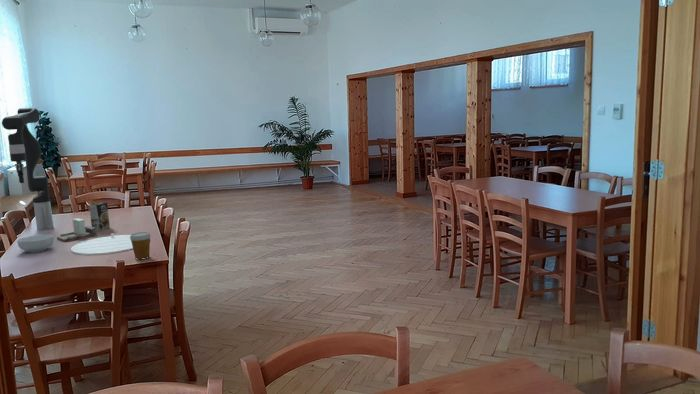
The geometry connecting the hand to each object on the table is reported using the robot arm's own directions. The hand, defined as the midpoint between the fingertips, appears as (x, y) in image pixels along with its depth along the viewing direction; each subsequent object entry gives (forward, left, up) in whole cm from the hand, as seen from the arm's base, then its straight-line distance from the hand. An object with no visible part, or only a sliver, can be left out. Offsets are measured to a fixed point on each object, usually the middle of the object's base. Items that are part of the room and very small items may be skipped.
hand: (21, 182), depth 310 cm
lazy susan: (+46, +39, -34) cm, 69 cm away
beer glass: (+86, +49, -33) cm, 104 cm away
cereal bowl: (+34, +4, -33) cm, 48 cm away
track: (+14, +23, -33) cm, 43 cm away
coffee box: (-1, +38, -33) cm, 50 cm away
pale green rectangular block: (+13, +26, -31) cm, 42 cm away
